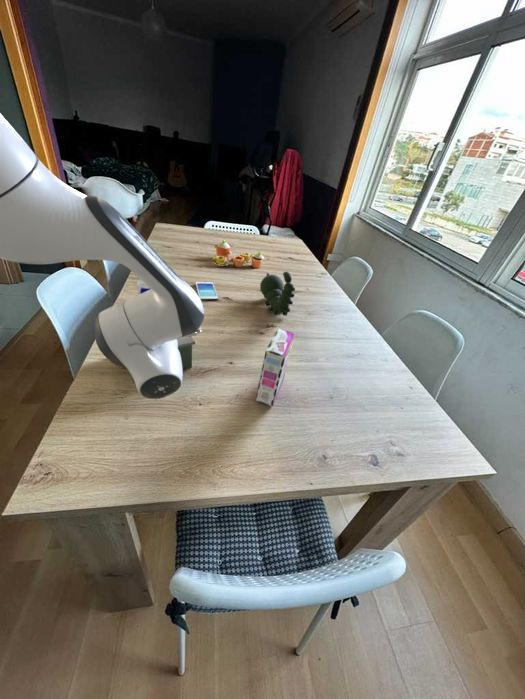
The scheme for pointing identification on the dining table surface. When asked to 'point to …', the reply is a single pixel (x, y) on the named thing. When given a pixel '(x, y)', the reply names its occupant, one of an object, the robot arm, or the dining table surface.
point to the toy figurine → (277, 293)
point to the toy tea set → (235, 257)
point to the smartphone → (206, 291)
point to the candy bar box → (274, 366)
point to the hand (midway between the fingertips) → (151, 306)
